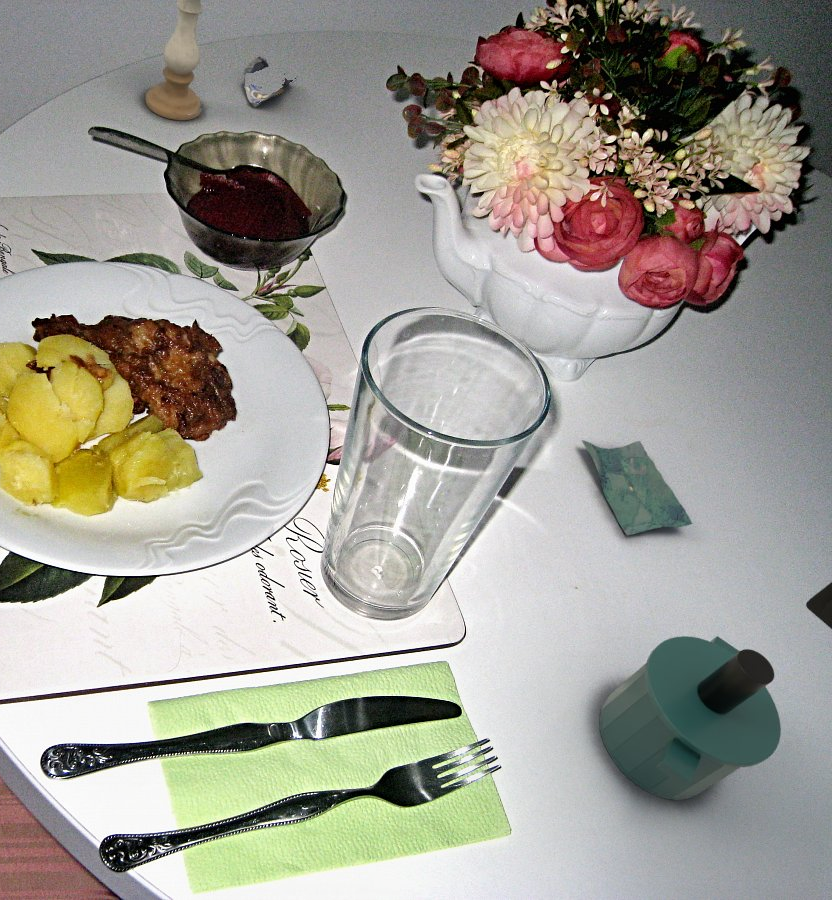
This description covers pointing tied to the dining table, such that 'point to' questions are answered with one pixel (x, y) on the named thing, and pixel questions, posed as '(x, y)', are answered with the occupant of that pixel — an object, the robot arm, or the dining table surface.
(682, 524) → the green flat curved rectangle
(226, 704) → the dining table surface
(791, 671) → the dining table surface
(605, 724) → the pot
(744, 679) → the pot lid
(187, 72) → the candle holder
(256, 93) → the snack package
